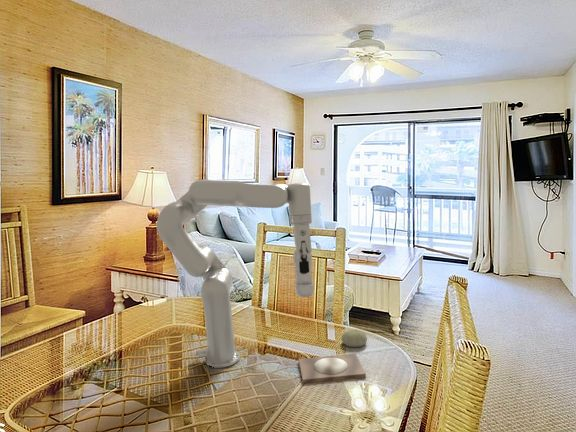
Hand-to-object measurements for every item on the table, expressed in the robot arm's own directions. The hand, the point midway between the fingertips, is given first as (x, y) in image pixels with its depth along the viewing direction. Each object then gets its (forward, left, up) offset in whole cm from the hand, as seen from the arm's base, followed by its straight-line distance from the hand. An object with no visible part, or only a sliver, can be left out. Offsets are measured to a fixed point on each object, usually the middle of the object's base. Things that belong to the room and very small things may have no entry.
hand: (303, 269), depth 146 cm
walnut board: (+6, -12, -31) cm, 34 cm away
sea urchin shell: (+18, +6, -32) cm, 37 cm away
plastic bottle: (0, 0, -10) cm, 10 cm away
